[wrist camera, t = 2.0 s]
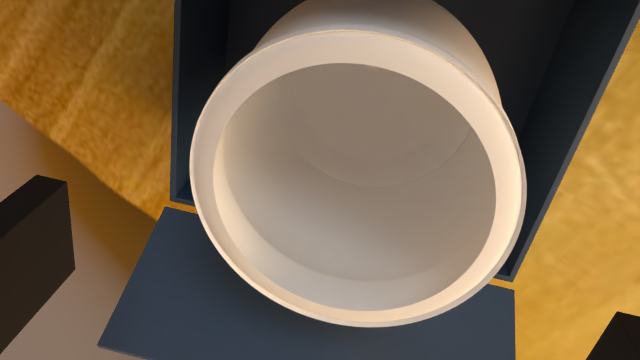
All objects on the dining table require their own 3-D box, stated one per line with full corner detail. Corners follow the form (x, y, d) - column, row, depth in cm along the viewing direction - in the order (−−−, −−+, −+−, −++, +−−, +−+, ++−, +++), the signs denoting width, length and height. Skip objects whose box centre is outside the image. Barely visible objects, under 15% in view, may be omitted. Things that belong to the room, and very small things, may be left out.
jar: (503, 109, 29) (571, 289, 16) (337, 169, 32) (284, 356, 20) (435, -82, 25) (454, -47, 12) (254, 10, 28) (119, 114, 16)
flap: (517, 452, 21) (514, 454, 21) (514, 290, 25) (512, 292, 26) (96, 344, 22) (98, 347, 22) (164, 206, 26) (165, 209, 27)
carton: (609, -72, 24) (816, -26, 12) (494, 205, 32) (543, 409, 20) (237, -147, 25) (58, -178, 13) (216, 141, 33) (94, 296, 21)
